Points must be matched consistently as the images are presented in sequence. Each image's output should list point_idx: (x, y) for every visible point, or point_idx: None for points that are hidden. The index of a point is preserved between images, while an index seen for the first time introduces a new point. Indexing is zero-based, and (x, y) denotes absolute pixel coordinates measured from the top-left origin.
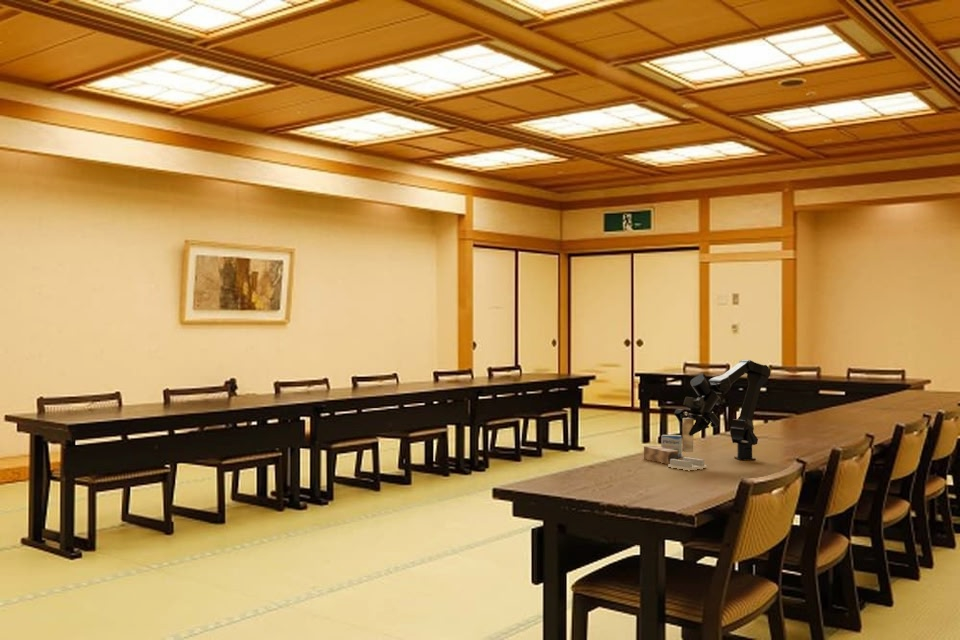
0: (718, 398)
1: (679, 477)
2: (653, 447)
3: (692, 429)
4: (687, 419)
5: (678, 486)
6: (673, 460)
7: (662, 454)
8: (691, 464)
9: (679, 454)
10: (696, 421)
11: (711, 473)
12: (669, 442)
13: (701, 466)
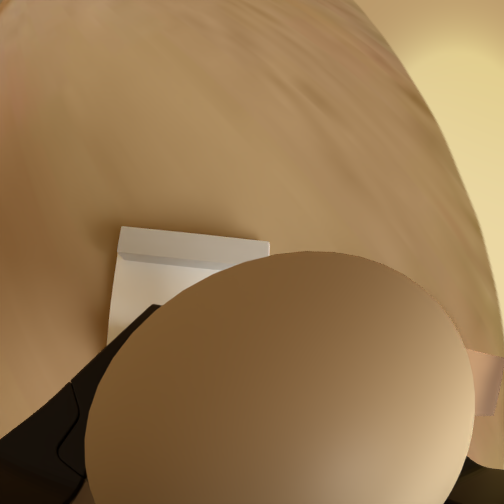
0: None
1: (94, 97)
2: (477, 375)
3: (115, 346)
4: (201, 280)
5: (59, 30)
6: (240, 239)
7: None
8: (121, 254)
9: None
10: (39, 485)
11: (26, 259)
12: None
13: (108, 334)
